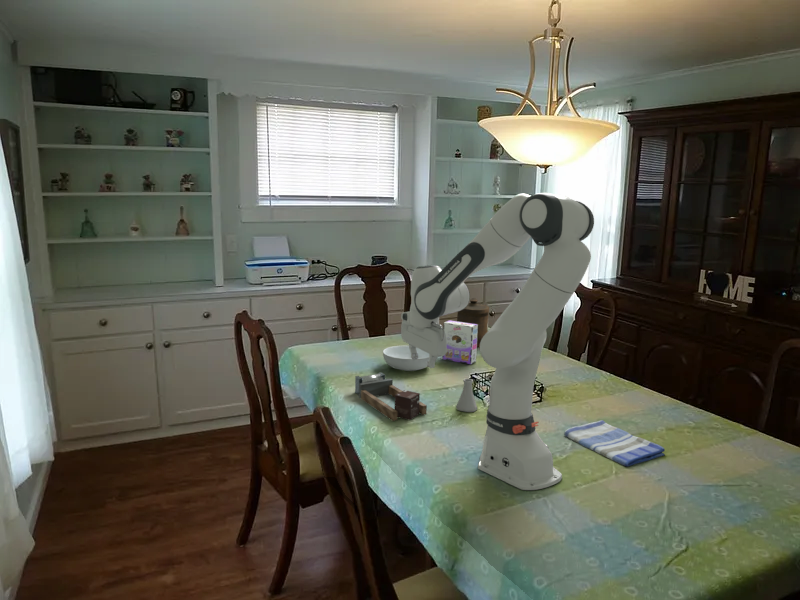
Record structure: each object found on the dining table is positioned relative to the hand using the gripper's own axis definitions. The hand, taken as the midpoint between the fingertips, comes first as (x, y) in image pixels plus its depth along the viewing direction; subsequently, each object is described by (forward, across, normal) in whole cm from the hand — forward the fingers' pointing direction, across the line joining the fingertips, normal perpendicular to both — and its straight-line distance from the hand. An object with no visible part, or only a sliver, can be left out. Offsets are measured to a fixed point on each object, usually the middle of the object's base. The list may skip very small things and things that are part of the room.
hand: (422, 363), depth 175 cm
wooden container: (+20, +70, -73) cm, 104 cm away
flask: (+20, +4, -21) cm, 29 cm away
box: (+20, +8, 0) cm, 21 cm away
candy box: (+20, +50, -52) cm, 75 cm away
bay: (+20, +17, 0) cm, 26 cm away
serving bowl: (+20, +51, -26) cm, 61 cm away
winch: (+20, +33, 0) cm, 38 cm away
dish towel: (+20, -38, -42) cm, 60 cm away
